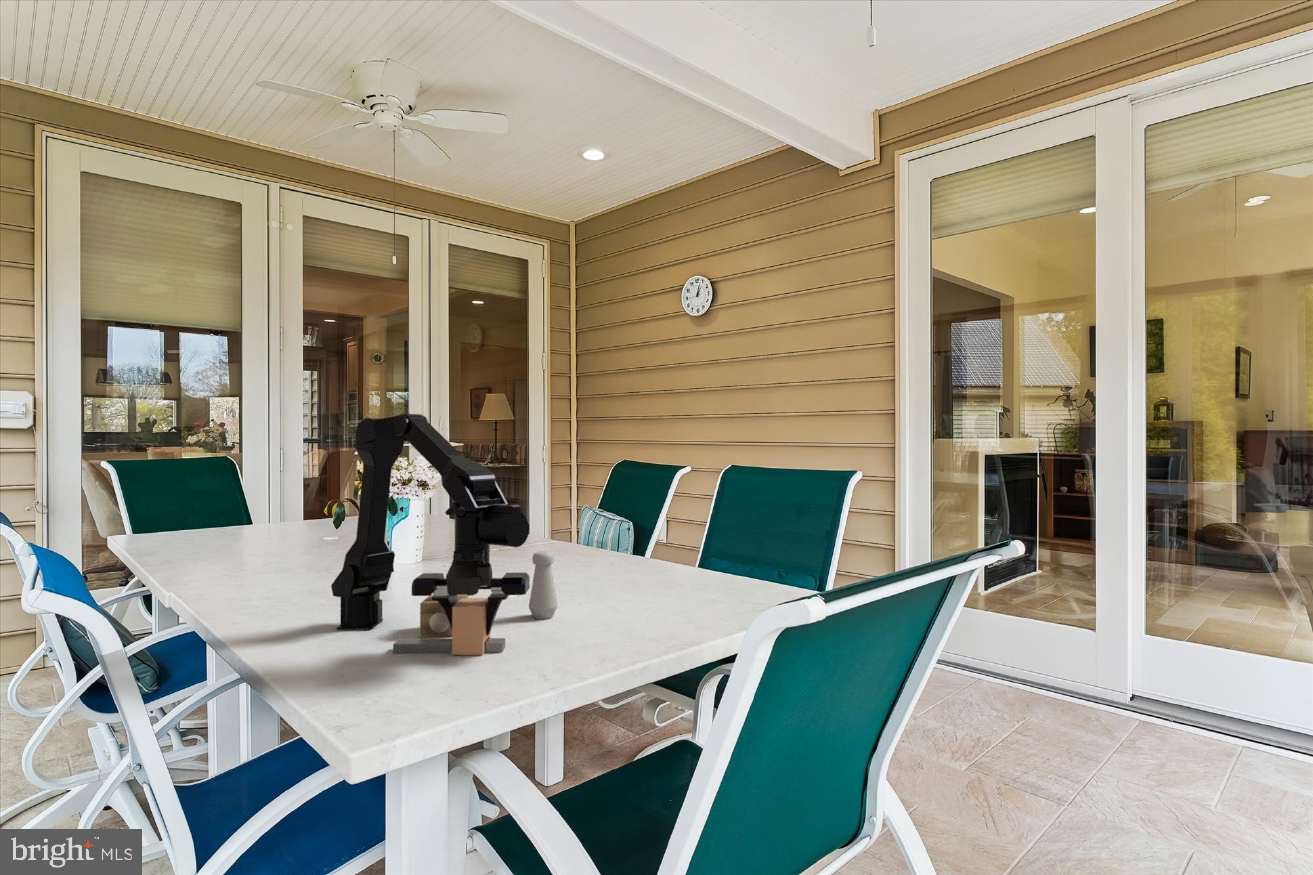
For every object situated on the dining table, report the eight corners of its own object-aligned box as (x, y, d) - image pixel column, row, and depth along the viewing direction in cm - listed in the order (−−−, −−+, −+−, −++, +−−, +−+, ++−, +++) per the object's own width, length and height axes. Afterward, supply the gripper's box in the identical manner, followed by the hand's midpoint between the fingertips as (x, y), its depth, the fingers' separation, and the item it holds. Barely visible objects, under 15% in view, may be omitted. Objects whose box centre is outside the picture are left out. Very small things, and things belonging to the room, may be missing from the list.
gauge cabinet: (419, 636, 125) (419, 603, 125) (431, 625, 133) (431, 594, 133) (458, 636, 126) (459, 603, 126) (468, 625, 133) (468, 594, 133)
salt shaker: (560, 613, 142) (560, 550, 143) (554, 620, 137) (554, 554, 137) (532, 612, 143) (533, 549, 143) (524, 619, 137) (525, 554, 137)
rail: (393, 653, 116) (393, 644, 116) (399, 647, 119) (399, 639, 119) (502, 652, 116) (502, 643, 116) (505, 646, 119) (505, 638, 119)
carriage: (452, 654, 114) (452, 607, 114) (461, 643, 121) (461, 598, 121) (482, 654, 114) (482, 606, 114) (490, 642, 121) (490, 597, 121)
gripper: (400, 550, 109) (400, 649, 109) (520, 549, 110) (520, 648, 110) (421, 540, 120) (421, 630, 120) (530, 539, 121) (529, 629, 121)
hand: (471, 634), depth 118 cm, fingers closed on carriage, 5 cm apart
